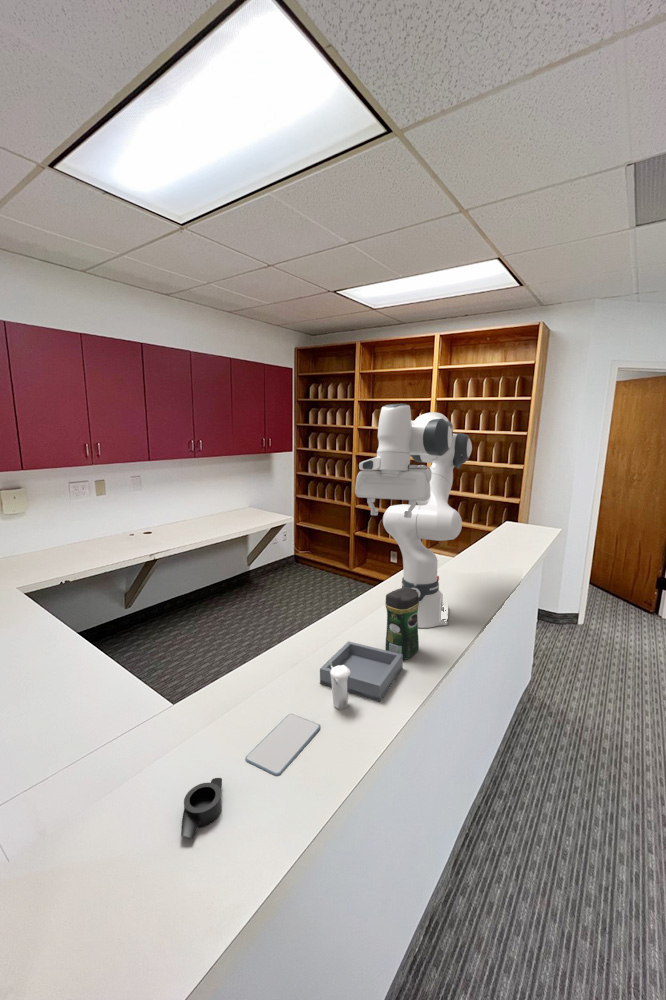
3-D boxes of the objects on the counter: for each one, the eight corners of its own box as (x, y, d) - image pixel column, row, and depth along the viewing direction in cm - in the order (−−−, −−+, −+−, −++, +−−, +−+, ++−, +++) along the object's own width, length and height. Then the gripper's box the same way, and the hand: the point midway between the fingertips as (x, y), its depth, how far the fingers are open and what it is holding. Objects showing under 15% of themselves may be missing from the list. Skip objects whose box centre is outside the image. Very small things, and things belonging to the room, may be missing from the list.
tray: (348, 654, 117) (348, 641, 116) (402, 668, 109) (402, 654, 109) (320, 683, 103) (319, 668, 102) (379, 702, 95) (379, 686, 95)
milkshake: (336, 695, 98) (335, 655, 97) (354, 703, 95) (354, 663, 93) (323, 704, 95) (323, 663, 93) (342, 713, 91) (341, 671, 90)
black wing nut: (243, 806, 68) (242, 791, 68) (186, 850, 61) (185, 833, 61) (217, 781, 74) (216, 766, 73) (163, 819, 66) (161, 803, 66)
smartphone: (243, 758, 78) (289, 712, 91) (243, 762, 78) (289, 716, 91) (278, 775, 74) (321, 724, 87) (278, 780, 74) (321, 728, 87)
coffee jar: (400, 642, 124) (400, 582, 121) (422, 651, 118) (424, 589, 116) (380, 654, 117) (380, 591, 114) (403, 664, 111) (404, 598, 109)
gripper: (435, 465, 107) (432, 518, 108) (363, 464, 117) (361, 513, 117) (428, 464, 101) (425, 520, 102) (353, 463, 111) (351, 514, 112)
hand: (390, 516), depth 110 cm, fingers open, 8 cm apart
